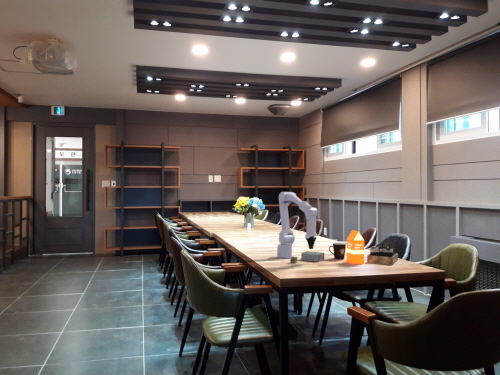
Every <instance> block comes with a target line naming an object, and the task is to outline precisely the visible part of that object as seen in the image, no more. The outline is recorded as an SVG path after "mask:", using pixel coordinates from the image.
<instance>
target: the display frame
mask: <svg viewBox="0 0 500 375" xmlns="http://www.w3.org/2000/svg"><path fill="white" fill-rule="evenodd" d="M366 257H367V258H366V261H367V263H370V264H377V265H378V264H380V265H387V264H388V265H389V266H393V265H394V264H395V263H397V262H398V260H399V253H398V252H397V253H396V252H393V257H382V256H371V255H370V253H369V254H367V256H366Z"/></svg>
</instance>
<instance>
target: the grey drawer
mask: <svg viewBox="0 0 500 375" xmlns="http://www.w3.org/2000/svg"><path fill="white" fill-rule="evenodd" d="M301 261H306V262H307V261H308V262H317V263H319V262H318V255H312V254H301Z"/></svg>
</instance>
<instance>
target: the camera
mask: <svg viewBox="0 0 500 375" xmlns="http://www.w3.org/2000/svg"><path fill="white" fill-rule="evenodd" d="M393 253H394V248H393V247H389V246H387V247H386V246H385V247H383V246H376V247H375V246H373V245H372V246H371V247H370V248H369V254H370V255H371V256H382V257H393Z"/></svg>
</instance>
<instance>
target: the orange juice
mask: <svg viewBox="0 0 500 375" xmlns="http://www.w3.org/2000/svg"><path fill="white" fill-rule="evenodd" d="M347 262H348V263H350V264H352V265H360V264H361V265H362V264H365V239H364V237H363V236H362V234H361V233H360V231H357V230H354V229H353V230H351V232H350V233H349V235H348V236H347V238H346V263H347Z"/></svg>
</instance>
